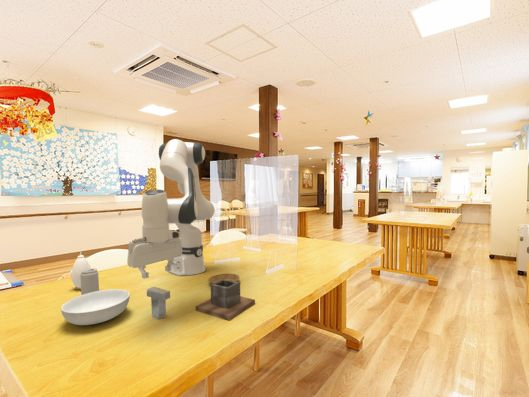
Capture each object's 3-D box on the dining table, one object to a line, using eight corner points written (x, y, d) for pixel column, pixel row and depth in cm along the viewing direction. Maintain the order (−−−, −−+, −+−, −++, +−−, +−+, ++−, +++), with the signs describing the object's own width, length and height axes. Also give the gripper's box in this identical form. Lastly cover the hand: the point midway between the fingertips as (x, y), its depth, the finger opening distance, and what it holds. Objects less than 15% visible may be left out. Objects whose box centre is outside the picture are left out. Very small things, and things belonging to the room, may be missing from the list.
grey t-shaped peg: (147, 314, 100) (146, 289, 100) (154, 311, 103) (153, 286, 102) (163, 320, 95) (162, 293, 95) (170, 317, 98) (169, 291, 98)
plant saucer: (202, 287, 128) (202, 281, 128) (218, 277, 142) (218, 272, 142) (231, 290, 123) (230, 285, 123) (244, 280, 137) (244, 274, 136)
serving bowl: (115, 301, 113) (115, 284, 113) (140, 315, 100) (140, 297, 100) (53, 321, 97) (52, 301, 97) (73, 341, 84) (72, 319, 84)
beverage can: (102, 296, 119) (101, 268, 118) (89, 301, 113) (87, 273, 112) (91, 294, 121) (90, 267, 121) (77, 300, 115) (76, 271, 115)
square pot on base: (195, 310, 103) (194, 286, 103) (223, 295, 117) (223, 274, 116) (228, 320, 95) (228, 294, 94) (254, 303, 108) (254, 280, 108)
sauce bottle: (70, 288, 129) (68, 250, 128) (89, 284, 134) (87, 247, 134) (74, 292, 123) (72, 252, 123) (94, 287, 129) (92, 249, 128)
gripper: (133, 241, 87) (135, 284, 88) (184, 232, 105) (185, 268, 105) (122, 239, 91) (124, 281, 91) (173, 231, 108) (174, 266, 108)
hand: (157, 274), depth 98 cm, fingers open, 8 cm apart
